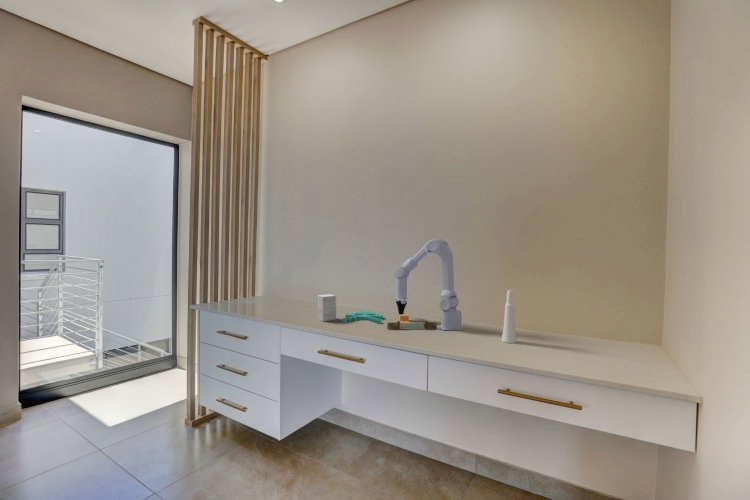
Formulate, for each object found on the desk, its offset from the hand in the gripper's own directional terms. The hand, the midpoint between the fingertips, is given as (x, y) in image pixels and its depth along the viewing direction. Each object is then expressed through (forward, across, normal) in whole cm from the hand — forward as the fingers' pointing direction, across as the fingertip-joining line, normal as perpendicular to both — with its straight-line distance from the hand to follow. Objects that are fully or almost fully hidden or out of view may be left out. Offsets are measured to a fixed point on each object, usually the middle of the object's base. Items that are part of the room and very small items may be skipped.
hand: (401, 314), depth 187 cm
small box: (+3, -2, -39) cm, 40 cm away
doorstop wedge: (+3, +10, 0) cm, 10 cm away
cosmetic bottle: (+3, +40, +41) cm, 57 cm away
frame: (+3, +18, +3) cm, 19 cm away
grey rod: (+2, +19, +3) cm, 19 cm away
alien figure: (+3, -4, -19) cm, 20 cm away
